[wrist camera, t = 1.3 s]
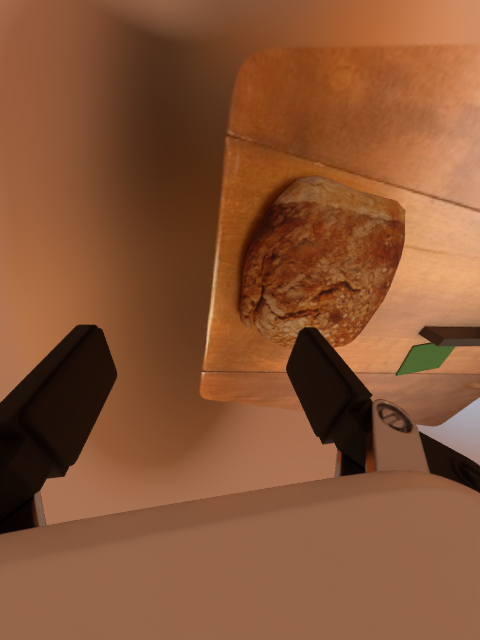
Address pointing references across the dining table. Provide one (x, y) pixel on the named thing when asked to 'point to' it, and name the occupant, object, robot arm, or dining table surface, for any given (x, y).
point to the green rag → (424, 358)
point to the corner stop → (452, 336)
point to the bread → (321, 262)
